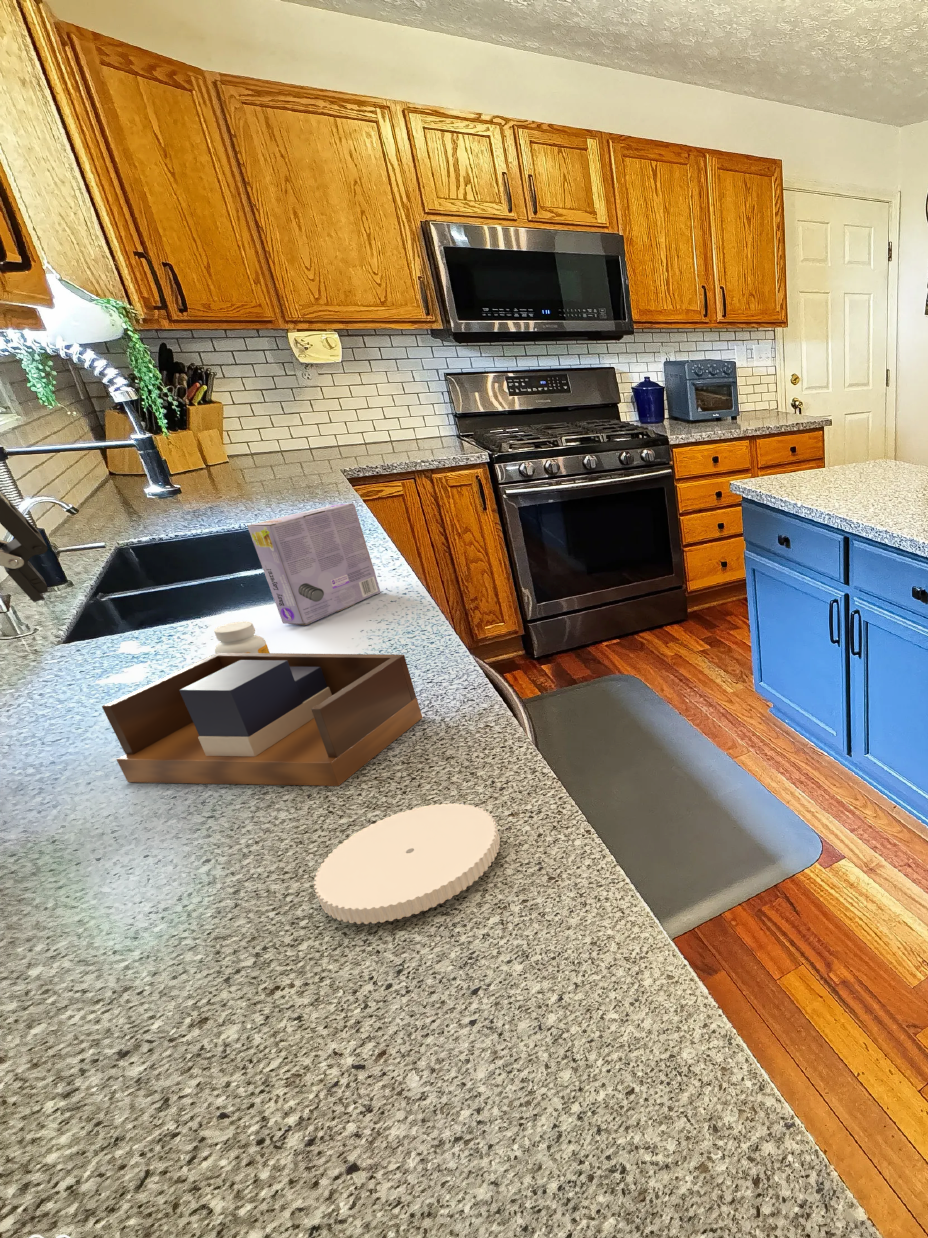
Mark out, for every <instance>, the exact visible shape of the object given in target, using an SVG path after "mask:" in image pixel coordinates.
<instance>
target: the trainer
mask: <svg viewBox="0 0 928 1238" xmlns="http://www.w3.org/2000/svg"><path fill="white" fill-rule="evenodd" d="M179 691H180V693H181V695H182V698H183V700H184V702H185V705H186V707H187V709H188V711H189V714H190V716H191V718H192V720H193V723H194V725H195V727H196V729H197V732H198V734H199V737H198V739H199V741H200V743H201V745H202V748H203V750H204V752H205V754H206V756H251V757H255V756H257V755H259V754H260V753H262V752H263V751H265V750H266V749H268V748H269V747H271V746H272V745H274V744H275V743H277V742H278V741H280V740H281V739H283V738H284V737H286V736H287V735H289V734H290V733H292V732H293V731H295V730H296V729H298V728H299V727H301V726H303V725H304V724H306V723H307V722H309V721H310V720H312V719H313V718H314V716H313V713H312V710H311V709H312V708H313V707H315V706H317V705H318V704H320V703H321V702H323V701H324V700H326V699H328V698H329V697H331V696H332V694H331V691H330V688H329V687H327V684H326V681H325V678H324V676H323V673H322V670H321V667H290V666H289V663H288V661H287V660H239V661H237V662H235V663H233V664H231V665H229V666H227V667H225V668H223V669H221V670H219V671H217V672H215V673H213V674H211V675H209V676H207V677H205V678H203V679H201V680H199V681H197V682H195V683H193V684H191V685H189V686H187V687H185V688H182V689H180V690H179Z"/></svg>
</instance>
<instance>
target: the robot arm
mask: <svg viewBox="0 0 928 1238" xmlns="http://www.w3.org/2000/svg"><path fill="white" fill-rule="evenodd" d="M0 525H1V526H2V527H3V528H4V529H5V530H6V531H7V532H8V533H9V534H10V535H11V536H12V537H13V538H14V539H12V540H10V541H6V540H2V539H0V566H1V567H3V569H4V570H5V573H6V574H8V576H9V577H10V578H11V579H12V580H13V582H14V583H15V584H16V585H17V586H18V587H19V588H20V589H21V590H22V591H23V592H24V593H25V594H26V596H27V597H28V598H29V599H30V600H31V601H32V602H33V603H37V602H40V601H43V600H45V599H46V598H45V597H44V593H48V592H49V588H48V585H47V583H46V581H45V579H44V577H43V576H42V575H41V574H40V572H38V570H37V569H36V568H35V567H34V565H32V563H31V562H30V561H29V560H30V559H31V558H32V557H34V556H37V555H40V556H41V555H44V554H46V553H47V552H48V550H49V547H48V546H47V543H46V542H45V540H44V538H43V536H42V534H41V532H40V531H39V530H38V529H37V528H36V526H34V525H33V524H32V523H31V522H30V521H29V519H28V518H27V517H26V516H25V515H24V514H23V513H22V512H21V511H20V510H19V509H18V507H16V506H15V505H14V503H13V502H12V501H10V499H9V498H8V497H7V496H6V495H5V494H4V493H3V492H2V491H1V490H0Z"/></svg>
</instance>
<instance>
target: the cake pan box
mask: <svg viewBox="0 0 928 1238" xmlns="http://www.w3.org/2000/svg"><path fill="white" fill-rule="evenodd" d="M247 530H248V532H249V535H250V537H251V540H252V543H253V546H254V549H255V551H256V554H257V556H258V559H259V562H260V565H261V568H262V570H263V573H264V576H265V578H266V581H267V584H268V586H269V589H270V592H271V595H272V597H273V600H274V602H275V605H276V606H275V607H276V609H277V611H278V614H279V617H280V619H281V622H282V624H285V625H298V626H307V625H309V624H312V623H314V622H317V621H318V620H321V619H323V618H325V617H328V616H331V615H332V614H334V613H338V612H341V611H343V610H345V609H347V608H350V607H352V606H355V604H357V603H359V602H362V601H364V600H366V599H368V598H372V597H373V596H375V595H378V594H380V593H381V589H380V585H379V582H378V579H377V574H376V571H375V568H374V565H373V561H372V558H371V556H370V553H369V548H368V546H367V542H366V538H365V535H364V532H363V529H362V524H361V522H360V518H359V515H358V511H357V509H356V504H354V502H352V503H350V502H349V503H338V504H330V505H326V506H322V507H318V508H315V509H314V508H313V509H310V510H306V511H301V512H297V513H293V514H292V513H291V514H287V515H284V516H280V517H276V518H272V519H269V520H263V521H260V522H255V523H251V524H247Z"/></svg>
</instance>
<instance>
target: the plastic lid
mask: <svg viewBox="0 0 928 1238" xmlns="http://www.w3.org/2000/svg"><path fill="white" fill-rule="evenodd" d="M500 840H501V838H500V835H499V830H498V826H497V823H496V821H495V818H494V816H493V815H491V813H490V812H487V810H484V808H480V806H475V805H473V804H472V805H470V804H464V803H457V802H455V803H452V802H448V803H447V804H446V803H441V804H439V803H436V804H433V805H432V804H429V805H427V806H424V805H423V806H420V807H414V808H413V809H407V810H405V811H400V812H398V813H397V814H392V815H390V816H386V817H384V818H383V819H381V820H377V821H376V822H374V823H371V824H368V826H367V827H363V828H362V829H361V830H360V831H357V832H355V834H353V835H350V836H349V837H348V838H347V839H344V840H343V841H342V843H340V844H338V845H337V847H336V848H334V849H332V850H331V851H332V852H331V853H329V854H327V857H325V858H324V859H323V862H321V863H320V867H318V868H317V872H316V873H315V877H314V878H313V880H314V881H313V888H314V892H315V895H316V897H317V899H318V902H319V904H320V907H321V908H322V910H323V911H324V913H325V914H327V915H328V916H329V917H332V919H337V921H340V922H341V921H342V922H343V923H347V922H349V924H353V923H356V924H357V925H360V924H362V923H363V924H364V925H369V923H371V924H377V923H379V922H380V923H382V924H383V923H385V922H386V921H388V922H392V921H394V920H396V919H397V920H402V918H405V917H406V918H409V917H411V916H412V915H414V914H415V915H417V914H420V912H426V911H428V910H429V909H430V908H435V907H437V905H439V904H444V903H445V902H446V900H451V899H452V898H453V897H454V896H457V895H459V894H460V893H461V892H462V891H466V890H467V887H469V886H472V885H473V884H474V882H477V881H478V880H479V878H480V877H482V876H484V872H487V871H488V870H489V868H488V867H491V866H492V863H493V862H494V861H495V858H496V857H497V855H498V854H497V853H499V849H500V847H501V846H500V844H501V841H500Z"/></svg>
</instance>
